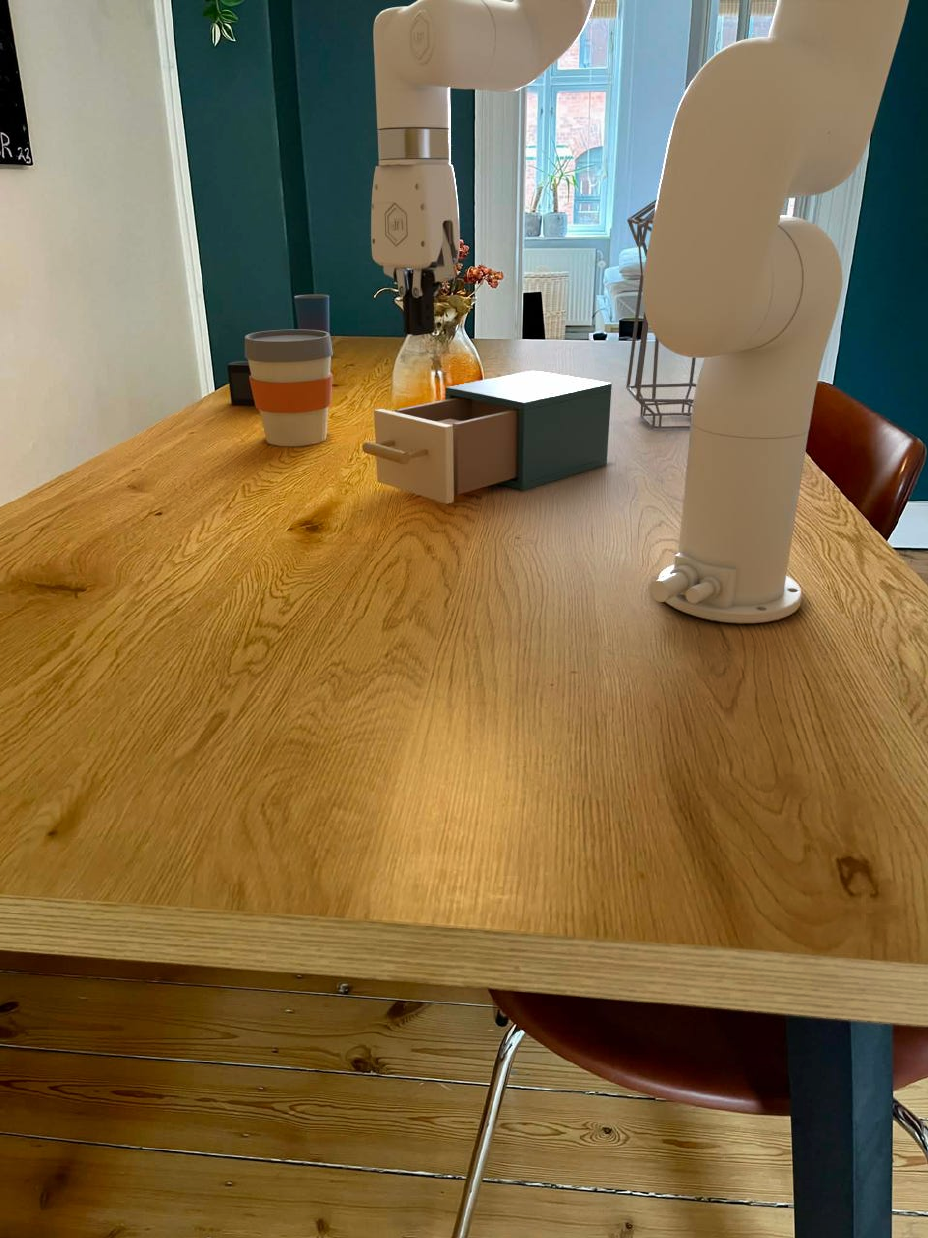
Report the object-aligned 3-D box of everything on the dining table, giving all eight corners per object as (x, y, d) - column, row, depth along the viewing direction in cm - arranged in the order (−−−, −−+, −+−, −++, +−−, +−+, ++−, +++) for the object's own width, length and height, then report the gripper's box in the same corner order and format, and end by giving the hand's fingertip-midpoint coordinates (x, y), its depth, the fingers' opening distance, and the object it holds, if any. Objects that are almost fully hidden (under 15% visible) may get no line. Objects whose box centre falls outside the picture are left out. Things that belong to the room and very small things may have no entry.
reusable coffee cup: (354, 433, 140) (348, 331, 133) (308, 453, 130) (299, 343, 123) (285, 425, 145) (276, 327, 138) (236, 444, 134) (224, 338, 128)
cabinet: (522, 490, 113) (524, 402, 108) (446, 469, 122) (444, 386, 117) (607, 464, 123) (611, 383, 119) (531, 446, 132) (533, 370, 128)
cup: (296, 372, 187) (290, 295, 181) (328, 369, 190) (323, 293, 184) (305, 378, 182) (299, 298, 175) (338, 375, 184) (333, 296, 178)
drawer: (419, 512, 102) (416, 433, 99) (350, 489, 111) (345, 415, 107) (537, 476, 115) (539, 405, 111) (467, 458, 123) (467, 391, 119)
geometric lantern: (632, 435, 138) (650, 177, 123) (613, 412, 152) (627, 178, 137) (735, 433, 138) (766, 176, 123) (707, 411, 152) (731, 178, 137)
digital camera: (227, 406, 158) (223, 365, 155) (240, 400, 163) (235, 359, 160) (284, 408, 156) (281, 366, 153) (295, 401, 161) (292, 361, 158)
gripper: (342, 152, 98) (352, 330, 105) (434, 146, 88) (438, 344, 95) (397, 153, 102) (402, 324, 110) (490, 148, 92) (489, 336, 100)
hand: (419, 333), depth 103 cm, fingers closed
